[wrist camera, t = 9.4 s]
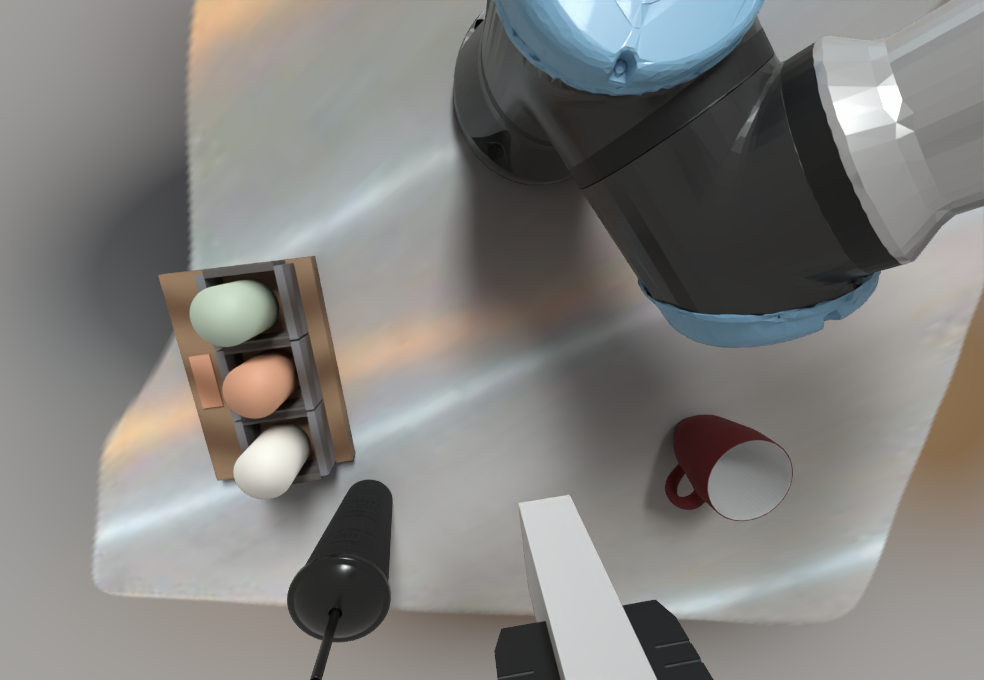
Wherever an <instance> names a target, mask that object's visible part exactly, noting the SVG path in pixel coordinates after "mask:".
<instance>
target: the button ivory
mask: <svg viewBox="0 0 984 680" xmlns="http://www.w3.org/2000/svg"><path fill="white" fill-rule="evenodd" d="M310 451H311V443H310V439H309V437H308V435H307V434H306V433H305V431H303V430H302V429H301V428H300V427H298V426H296V425H294V424H290V423H276V424H273V425H271V426H269V427H268V428H266V429H265V430H264V431H263V432H262V433H261V434H260V436H259V437H258V438H257V439H256V440H255V441H254V442H253V443H252V444H251V445H250V446H249V447H248V448H247V449H246V450H245V451H244V453H243V454H242V455H241V456H240V457H239V458H238V459H237V461H236V463H235V465H234V471H233V473H234V479H235V482H236V484H237V485H238V487H239V488H240V489H241V490H242V491H243V492H244V493H246V494H247V495H249V496H251V497H254V498H257V499H272V498H276V497H278V496H280V495H282V494H283V493H285V492H286V491H287V490H288V488H289V487H290V485H291V484H292V482H293V481H294V479H295V477H296V476H297V474H298V473H299V471H300V469H301V468H302V466H303V465H304V463H305V461H306V460H307V458H308V457H309V454H310Z"/></svg>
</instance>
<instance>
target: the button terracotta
mask: <svg viewBox="0 0 984 680" xmlns="http://www.w3.org/2000/svg"><path fill="white" fill-rule="evenodd" d="M299 384H300V382H299V378H298V373H297V369H296V364H295V360H294V358H293V357H292V356H291V355H290V354H288V353H286V352H284V351H281V350H275V349H272V350H266V351H263V352H261V353H259V354H257V355H256V356H254V357H252V358H251V359H249V360H248V361H246V362H244V363H243V364H241V365H240V366H238V367H236V368H235V369H233V370H232V371H231V372H230V373H229V374H228V375H227V376H226V378H225V380H224V382H223V388H222V391H223V397H224V400H225V402H226V403H227V405H228V406H229V407H230V408H231V409H232V410H233V411H234V412H235V413H237V414H239V415H241V416H243V417H246V418H254V419H256V418H263V417H266V416H268V415H270V414H271V413H273V412H274V411H275V410H276V409H277V408H278V407H279V406H280V405H281V404H282V403H283V402H284V401H285V400H286V399H287V398H288V397H289V396H290V395H291V394H292V393H293V392H294V391H295V390H296V389H297V387H298V386H299Z"/></svg>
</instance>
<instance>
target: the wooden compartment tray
mask: <svg viewBox="0 0 984 680" xmlns="http://www.w3.org/2000/svg"><path fill="white" fill-rule="evenodd" d="M158 276H159V280H160V283H161V286H162V290H163V293H164V297H165V300H166V304H167V307H168V311H169V314H170V318H171V321H172V325H173V328H174V332H175V335H176V339H177V342H178V346H179V349H180V353H181V356H182V360H183V363H184V367H185V370H186V374H187V377H188V381H189V384H190V387H191V391H192V394H193V398H194V401H195V405H196V408H197V412H198V415H199V419H200V422H201V426H202V429H203V433H204V436H205V440H206V443H207V447H208V450H209V454H210V457H211V461H212V464H213V468H214V471H215V474H216V478H217V481H218V480H224V479H231V478H234V473H233V471H234V465H235V463H236V461H237V459H238V458H239V457H240V456H241V455H242V454H243V453H244V451H245V450H246V449H247V448H248V447H249V446H250V445H251V444H252V443H253V442H254V441H255V440H256V439H257V438H258V437H259V436H260V434H261V433H262V432H263V431H264V430H265V429H266V428H268V427H269V426H271V425H273V424H276V423H290V424H294V425H296V426H298V427H300V428H301V429H302V430H303V431H305V433H306V434H307V435H308V437H309V439H310V443H311V451H310V454H309V457H308V458H307V460H306V461H305V463H304V465H303V466H302V468H301V469H300V471H299V473H298V474H297V476H296V477H295V479H294V481H293V482H292V484H295V483H302V482H308V481H315V480H321V479H322V478H323V476H325V475H329V473H330V471H331V469H332V467H333V465H334V463H337V462H344V461H350V460H353V457H354V455H355V450H354V445H353V440H352V435H351V430H350V425H349V420H348V415H347V411H346V406H345V401H344V396H343V391H342V386H341V381H340V376H339V371H338V367H337V362H336V357H335V352H334V347H333V342H332V337H331V332H330V327H329V323H328V318H327V313H326V308H325V303H324V298H323V293H322V288H321V283H320V279H319V274H318V269H317V264H316V259H315V256H311V257H303V258H295V259H286V260H278V261H270V262H261V263H253V264H245V265H236V266H228V267H220V268H211V269H203V270H195V271H186V272H178V273H171V274H170V273H169V274H162V275H158ZM240 280H256V281H259V282H261V283H263V284H265V285H266V286H268V287H269V288H270V289H271V290H272V291H273V292H274V294H275V295H276V297H277V300H278V303H279V315H278V318H277V320H276V322H275V323H274V324H273V326H272V327H270V328H269V329H268V330H266V331H264V332H262V333H260V334H258V335H256V336H254V337H252V338H250V339H248V340H246V341H244V342H243V343H241V344H239V345H236V346H231V347H221V346H216V345H213V344H211V343H209V342H207V341H205V340H204V339H202V338H201V337H200V336H199V335H198V334H197V332H196V331H195V329H194V328H193V326H192V323H191V320H190V306H191V303H192V301H193V299H194V298H195V296H196V295H197V294H198V293H199V292H201V291H202V290H204V289H206V288H209V287H212V286H217V285H222V284H226V283H231V282H236V281H240ZM272 349H275V350H281V351H284V352H286V353H288V354H290V355H291V356H292V357H293V358H294V360H295V364H296V369H297V373H298V378H299V382H300V384H299V386H298V387H297V389H296V390H295V391H294V392H293V393H292V394H291V395H290V396H289V397H288V398H287V399H286V400H285V401H284V402H283V403H282V404H281V405H280V406H279V407H278V408H277V409H276V410H275V411H274V412H273V413H271V414H270V415H268V416H266V417H263V418H256V419H254V418H246V417H243V416H241V415H239V414H237V413H235V412H234V411H233V410H232V409H231V408H230V407H229V406H228V405H227V403H226V402H225V400H224V397H223V391H222V388H223V382H224V380H225V378H226V376H227V375H228V374H229V373H230V372H231V371H232V370H233V369H235V368H236V367H238V366H240V365H241V364H243V363H244V362H246V361H248V360H249V359H251V358H252V357H254V356H256V355H257V354H259V353H261V352H263V351H266V350H272Z"/></svg>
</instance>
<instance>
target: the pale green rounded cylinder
mask: <svg viewBox="0 0 984 680" xmlns="http://www.w3.org/2000/svg"><path fill="white" fill-rule="evenodd" d="M278 315H279V303H278V300H277V297H276V295H275V294H274V292H273V291H272V290H271V289H270V288H269V287H268V286H266V285H265V284H263V283H261V282H259V281H256V280H240V281H236V282H231V283H226V284H222V285H217V286H212V287H209V288H206V289H204V290H202V291H201V292H199V293H198V294H197V295H196V296H195V298H194V299H193V301H192V303H191V306H190V320H191V323H192V326H193V328H194V329H195V331H196V332H197V334H198V335H199V336H200V337H201V338H202V339H204V340H205V341H207V342H209V343H211V344H213V345H216V346H221V347H231V346H236V345H239V344H241V343H243V342H244V341H246V340H248V339H250V338H252V337H254V336H256V335H258V334H260V333H262V332H264V331H266V330H268V329H269V328H270V327H272V326H273V324H274V323H275V322H276V320H277V318H278Z"/></svg>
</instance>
